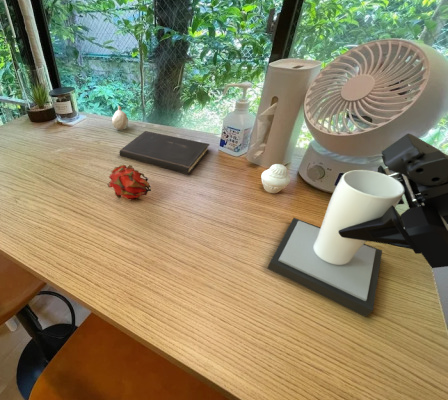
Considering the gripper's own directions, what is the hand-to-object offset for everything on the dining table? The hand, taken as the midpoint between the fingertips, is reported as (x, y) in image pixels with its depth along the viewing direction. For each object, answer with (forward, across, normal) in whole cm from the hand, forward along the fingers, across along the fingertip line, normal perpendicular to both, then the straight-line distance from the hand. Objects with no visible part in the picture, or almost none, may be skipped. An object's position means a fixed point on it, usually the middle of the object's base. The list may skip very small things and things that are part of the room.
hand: (338, 219), depth 40 cm
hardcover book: (+36, -25, -22) cm, 49 cm away
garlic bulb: (+52, -37, -38) cm, 75 cm away
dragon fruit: (+35, -3, -21) cm, 41 cm away
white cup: (+4, 0, +7) cm, 8 cm away
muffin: (+14, -19, +1) cm, 24 cm away
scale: (+6, 0, +8) cm, 10 cm away
